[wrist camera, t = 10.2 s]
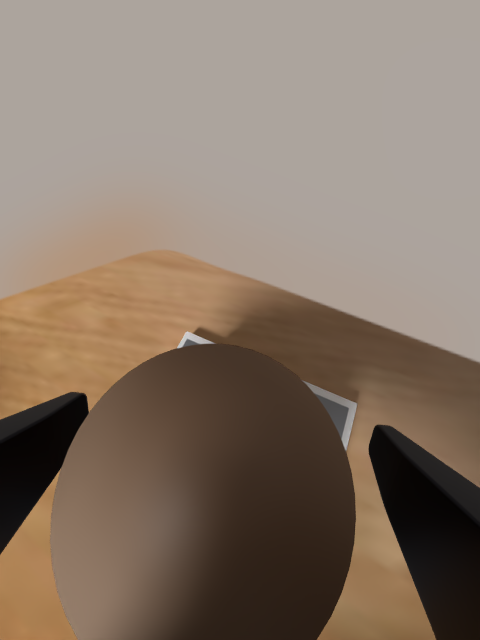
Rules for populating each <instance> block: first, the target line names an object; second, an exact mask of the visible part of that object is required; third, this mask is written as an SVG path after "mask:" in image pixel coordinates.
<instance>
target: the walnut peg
mask: <svg viewBox="0 0 480 640" xmlns="http://www.w3.org/2000/svg"><path fill="white" fill-rule="evenodd" d="M355 522H356V511H355V492H354V486H353V479H352V473H351V469H350V465H349V461H348V457H347V453H346V450H345V448H344V445H343V442H342V440H341V437H340V435H339V432H338V430H337V428H336V426H335V424H334V422H333V421H332V419H331V417H330V415H329V413H328V412H327V410H326V409H325V407H324V406H323V404H322V403H321V401H320V400H319V398H318V397H317V396H316V395H315V394H314V393H313V391H312V390H311V389H310V388H309V387H308V386H307V385H306V384H305V383H304V382H303V381H302V380H301V379H300V378H299V377H298V376H297V375H296V374H294V373H293V372H292V371H290V370H289V369H288V368H286V367H285V366H283V365H282V364H281V363H279V362H277V361H275V360H273V359H272V358H270V357H268V356H266V355H263V354H261V353H258V352H256V351H253V350H250V349H247V348H243V347H239V346H234V345H226V344H198V345H190V346H185V347H181V348H177V349H173V350H171V351H168V352H165V353H162V354H159V355H157V356H155V357H153V358H151V359H149V360H147V361H145V362H144V363H142V364H140V365H139V366H137V367H136V368H134V369H133V370H131V371H130V372H128V373H127V374H126V375H125V376H123V377H122V378H121V379H120V380H118V381H117V382H116V383H115V384H114V385H113V386H112V387H111V388H110V389H109V390H108V391H107V392H106V393H105V394H104V395H103V396H102V397H101V398H100V400H99V401H98V402H97V403H96V405H95V406H94V407H93V408H92V410H91V411H90V412H89V414H88V415H87V417H86V418H85V420H84V422H83V423H82V425H81V426H80V428H79V429H78V431H77V433H76V435H75V437H74V439H73V441H72V443H71V445H70V447H69V449H68V452H67V455H66V457H65V460H64V462H63V465H62V468H61V471H60V475H59V478H58V482H57V486H56V490H55V495H54V501H53V508H52V514H51V535H50V544H51V557H52V567H53V572H54V577H55V582H56V587H57V592H58V595H59V598H60V600H61V603H62V606H63V609H64V612H65V615H66V617H67V619H68V621H69V623H70V625H71V627H72V629H73V631H74V633H75V635H76V637H77V639H78V640H317V638H318V637H319V635H320V633H321V632H322V630H323V629H324V627H325V625H326V624H327V622H328V620H329V619H330V617H331V615H332V613H333V611H334V609H335V606H336V604H337V602H338V600H339V597H340V595H341V593H342V590H343V587H344V584H345V580H346V577H347V574H348V571H349V567H350V562H351V557H352V551H353V546H354V537H355Z"/></svg>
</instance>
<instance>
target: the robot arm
mask: <svg viewBox="0 0 480 640" xmlns="http://www.w3.org/2000/svg"><path fill="white" fill-rule="evenodd" d="M88 414H89V411H88V402H87V396H86V394H84V393H79V392H70V393H67V394H65V395H62V396H60V397H57V398H54V399H52V400H49V401H47V402H44V403H42V404H39V405H37V406H34V407H32V408H29V409H27V410H24V411H21V412H19V413H16V414H14V415H11V416H9V417H6V418H4V419H1V420H0V554H1V553H2V551H3V550H4V549H5V547H6V546H7V544H8V543H9V541H10V540H11V539H12V537H13V536H14V534H15V533H16V532H17V530H18V529H19V527H20V526H21V524H22V523H23V522H24V520H25V519H26V517H27V516H28V514H29V513H30V512H31V510H32V509H33V507H34V506H35V505H36V503H37V502H38V500H39V499H40V497H41V496H42V495H43V493H44V492H45V490H46V489H47V487H48V486H49V485H50V483H51V482H52V480H53V479H54V478H55V476H56V475H57V473H58V472H59V470H60V469H61V467H62V465H63V462H64V460H65V457H66V455H67V452H68V449H69V447H70V445H71V443H72V441H73V439H74V437H75V435H76V433H77V431H78V429H79V428H80V426H81V425H82V423H83V422H84V420H85V418H86V417H87V415H88ZM369 455H370V459H371V462H372V466H373V469H374V473H375V476H376V480H377V483H378V487H379V490H380V494H381V497H382V501H383V504H384V507H385V510H386V512H387V515H388V518H389V520H390V523H391V525H392V528H393V530H394V533H395V535H396V538H397V541H398V543H399V546H400V548H401V551H402V553H403V556H404V558H405V561H406V563H407V566H408V569H409V571H410V574H411V576H412V579H413V581H414V584H415V586H416V589H417V591H418V594H419V597H420V599H421V602H422V604H423V607H424V609H425V612H426V614H427V617H428V619H429V622H430V624H431V627H432V630H433V632H434V635H435V637H436V640H480V488H479V487H477V486H476V485H475V484H473V483H472V482H470V481H469V480H467V479H466V478H465V477H463V476H462V475H460V474H459V473H457V472H456V471H455V470H453V469H452V468H450V467H449V466H447V465H446V464H444V463H443V462H442V461H440V460H439V459H437V458H436V457H434V456H433V455H432V454H430V453H429V452H427V451H426V450H424V449H423V448H422V447H420V446H419V445H417V444H416V443H414V442H413V441H412V440H410V439H409V438H407V437H406V436H404V435H403V434H402V433H400V432H399V431H397V430H396V429H394V428H393V427H391V426H388V425H376V426H375V427H374V430H373V433H372V437H371V440H370V443H369Z"/></svg>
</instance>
